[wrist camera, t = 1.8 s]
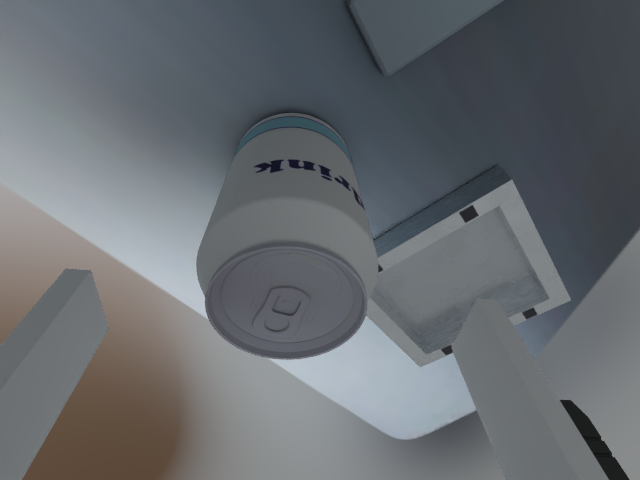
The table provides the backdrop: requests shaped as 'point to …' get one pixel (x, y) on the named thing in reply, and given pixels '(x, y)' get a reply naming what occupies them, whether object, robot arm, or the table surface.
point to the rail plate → (461, 267)
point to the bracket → (411, 26)
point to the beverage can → (288, 243)
